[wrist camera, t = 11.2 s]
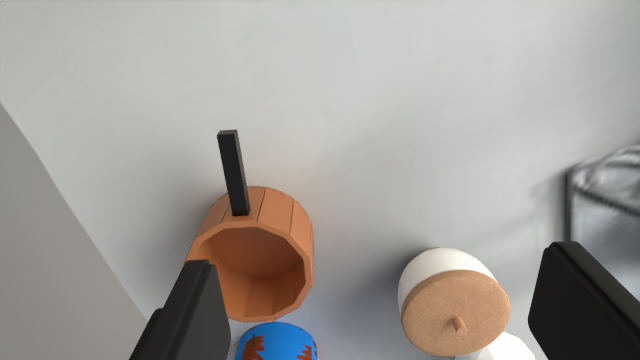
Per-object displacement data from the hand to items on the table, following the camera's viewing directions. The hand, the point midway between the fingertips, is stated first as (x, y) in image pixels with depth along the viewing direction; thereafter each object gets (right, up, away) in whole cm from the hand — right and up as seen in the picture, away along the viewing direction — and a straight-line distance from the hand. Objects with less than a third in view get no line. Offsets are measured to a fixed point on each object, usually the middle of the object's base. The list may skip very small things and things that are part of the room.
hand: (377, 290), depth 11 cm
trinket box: (+12, -7, +34) cm, 37 cm away
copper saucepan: (-9, +1, +31) cm, 32 cm away
